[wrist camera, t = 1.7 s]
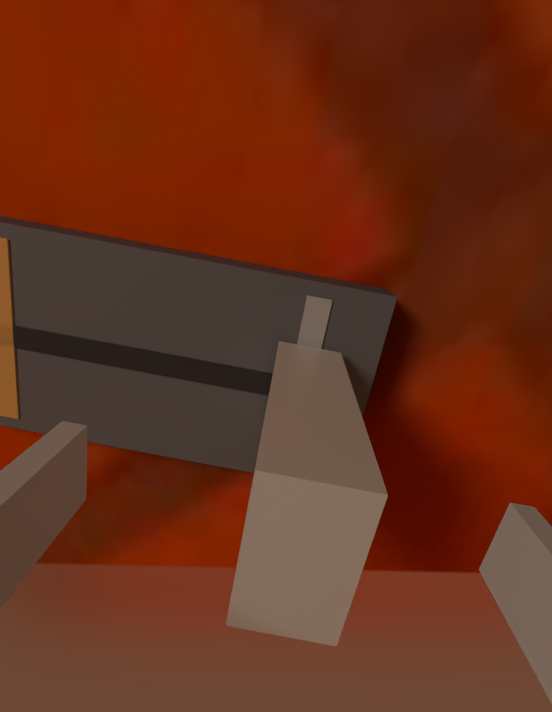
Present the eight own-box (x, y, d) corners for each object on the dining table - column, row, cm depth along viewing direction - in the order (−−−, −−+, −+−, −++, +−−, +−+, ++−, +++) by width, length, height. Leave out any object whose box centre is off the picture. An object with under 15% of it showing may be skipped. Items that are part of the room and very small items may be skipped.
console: (385, 288, 20) (397, 297, 17) (337, 463, 23) (342, 490, 21) (-45, 207, 20) (-95, 204, 17) (-26, 394, 23) (-65, 414, 21)
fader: (340, 352, 18) (387, 494, 8) (318, 442, 19) (336, 646, 10) (278, 341, 18) (255, 470, 8) (261, 431, 19) (225, 625, 10)
